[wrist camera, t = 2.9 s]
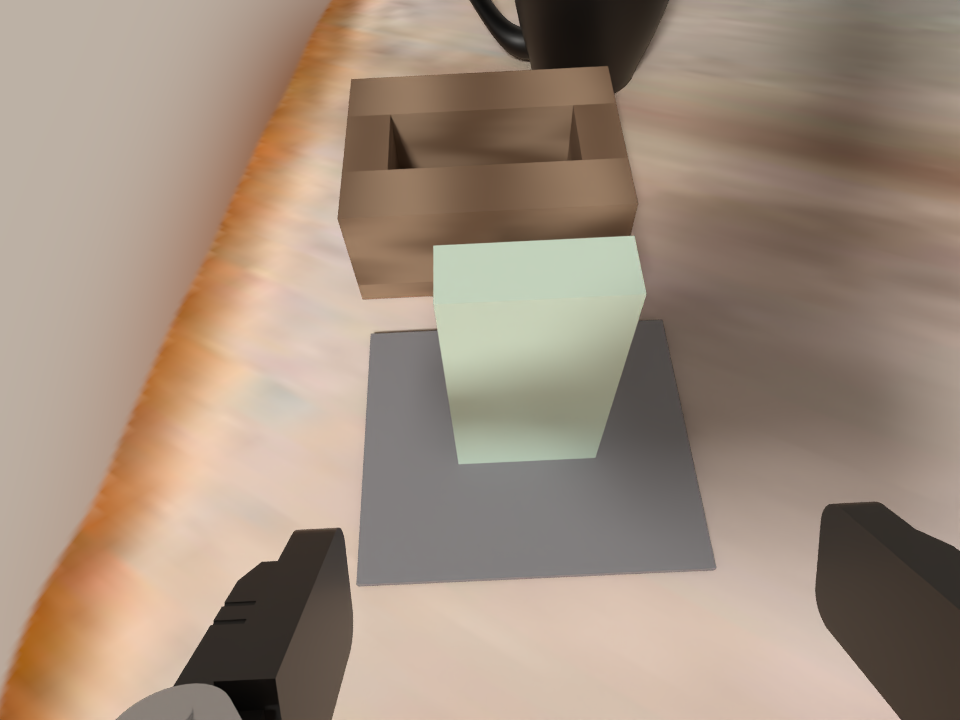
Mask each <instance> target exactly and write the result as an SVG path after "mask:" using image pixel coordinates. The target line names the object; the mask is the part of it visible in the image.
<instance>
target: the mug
mask: <svg viewBox="0 0 960 720" xmlns="http://www.w3.org/2000/svg"><path fill="white" fill-rule="evenodd" d="M668 1H669V0H515V4H516V9H517V13H518V18H519V23H520V27H519V26H517V25H515V24H513V23H511V22H510V21H508V20H507V19H506V18H505V17H504V16H503V15H502V14H501V13H500V12H499V11H498V9H497V8H496V7H495V5H494V4H493V2H492V1H491V0H470V2H471V3H472V5H473V7H474V8H475V10H476V11H477V13H478V15H479V16H480V18H481V19H482V21H483V22H484V24H485V25H486V27H487V28H488V30H489V31H490V33H491V34H492V35H493V37H494V38H495V39H496V40H497V41H498V43H499V44H500V45H501V46H502V47H503V48H504V49H505V50H506V51H507V52H509V53H510V54H512V55H513V56H515V57H517V58H521V59H527V60H530V63H531V69H532V70H542V69H561V68H581V67H600V66H608V69H609V73H610V78H611V82H612V87H613V92H614V93H616V92H618V91H619V90H621V89H622V88H623V87H624V86H625V85H626V84H627V83H628V82H629V81H630V79H631V77H632V75H633V72H634V70H635V68H636V66H637V65H638V63H639V61H640V59H641V57H642V55H643V54H644V52H645V50H646V48H647V46H648V44H649V42H650V41H651V39H652V37H653V35H654V33H655V31H656V29H657V27H658V24H659V22H660V20H661V18H662V16H663V14H664V11H665V9H666V6H667V4H668Z"/></svg>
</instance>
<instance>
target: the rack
mask: <svg viewBox="0 0 960 720" xmlns="http://www.w3.org/2000/svg"><path fill="white" fill-rule="evenodd" d="M637 206H638V201H637V197H636V192H635V188H634V183H633V179H632V174H631V169H630V165H629V160H628V156H627V151H626V147H625V142H624V137H623V133H622V128H621V124H620V119H619V114H618V110H617V105H616V101H615V96H614V92H613V87H612V82H611V78H610V73H609V69H608V66H600V67H581V68H561V69H542V70H522V71H503V72H483V73H464V74H444V75H425V76H405V77H386V78H366V79H351V88H350V98H349V108H348V118H347V128H346V139H345V149H344V159H343V169H342V179H341V189H340V199H339V209H338V222H339V225H340V228H341V231H342V235H343V238H344V241H345V244H346V247H347V251H348V254H349V257H350V260H351V263H352V267H353V270H354V273H355V276H356V279H357V283H358V286H359V289H360V292H361V295H362V299H381V298H401V297H422V296H433V246H436V245H457V244H477V243H497V242H518V241H538V240H558V239H578V238H599V237H619V236H630V234H631V230H632V226H633V222H634V218H635V214H636V210H637Z"/></svg>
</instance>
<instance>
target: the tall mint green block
mask: <svg viewBox="0 0 960 720" xmlns="http://www.w3.org/2000/svg"><path fill="white" fill-rule="evenodd" d="M645 298H646V289H645V284H644V280H643V275H642V270H641V265H640V260H639V255H638V251H637V246H636V241H635V236H619V237H599V238H578V239H558V240H538V241H518V242H497V243H477V244H457V245H436V246H433V305H434V311H435V317H436V324H437V330H438V337H439V343H440V349H441V356H442V362H443V368H444V375H445V381H446V387H447V394H448V400H449V406H450V413H451V419H452V425H453V432H454V438H455V445H456V451H457V457H458V464H475V463H497V462H518V461H540V460H561V459H582V458H595V457H596V454H597V451H598V448H599V445H600V441H601V438H602V435H603V432H604V429H605V425H606V422H607V419H608V416H609V413H610V409H611V406H612V403H613V400H614V397H615V393H616V390H617V387H618V384H619V381H620V377H621V374H622V371H623V368H624V365H625V361H626V358H627V355H628V352H629V349H630V345H631V342H632V339H633V336H634V333H635V329H636V326H637V323H638V320H639V317H640V313H641V310H642V307H643V304H644V301H645Z"/></svg>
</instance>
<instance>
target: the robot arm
mask: <svg viewBox="0 0 960 720" xmlns="http://www.w3.org/2000/svg"><path fill="white" fill-rule="evenodd" d="M815 592H816V601H817V606H818V609H819V613H820V615H821V618H822V620H823V622H824V624H825V626H826V627H827V629H828V630H829V631H830V633H831V634H832V635H833V636H834V637H835V639H836V640H837V641H838V642H839V644H840V645H841V646H842V647H843V649H844V650H845V651H846V652H847V654H848V655H849V656H850V657H851V658H852V660H853V661H854V662H855V663H856V665H857V666H858V667H859V668H860V670H861V671H862V672H863V673H864V674H865V676H866V677H867V678H868V679H869V681H870V682H871V683H872V684H873V686H874V687H875V688H876V689H877V690H878V692H879V693H880V694H881V695H882V697H883V698H884V699H885V700H886V702H887V703H888V704H889V705H890V706H891V708H892V709H893V710H894V711H895V713H896V714H897V715H898V716H899V718H900V719H901V720H960V551H959V550H958V549H956V548H955V547H954V546H952V545H949V544H947V543H945V542H943V541H941V540H938V539H936V538H934V537H932V536H929V535H927V534H925V533H923V532H921V531H918V530H916V529H914V528H913V527H912V526H911V525H909V524H908V523H907V522H905V521H904V520H903V519H901V518H900V517H899V516H897V515H896V514H895V513H893V512H892V511H891V510H889V509H888V508H887V507H886V506H884V505H883V504H881V503H879V502H860V503H840V504H829V505H827V506H826V507H825V509H824V511H823V513H822V517H821V526H820V538H819V550H818V562H817V574H816V587H815ZM352 635H353V610H352V601H351V592H350V583H349V574H348V565H347V557H346V548H345V540H344V535H343V532H342V530H341V528H325V529H306V530H295V531H294V532H293V534H292V535H291V537H290V539H289V541H288V543H287V545H286V547H285V549H284V550H283V552H282V554H281V556H280V558H279V560H278V561H270V562H261V563H260V564H259V565H257V566H256V567H255V568H253V569H252V570H251V571H250V572H248V573H247V574H246V575H245V576H243V577H242V578H241V579H240V580H238V581H237V583H236V585H235V586H234V588H233V590H232V591H231V593H230V595H229V596H228V598H227V599H226V601H225V606H224V607H222V608H221V609H220V611H219V612H218V614H217V616H216V617H215V619H214V624H213V625H211V626H210V627H209V629H208V630H207V632H206V634H205V635H204V637H203V639H202V640H201V642H200V644H199V645H198V647H197V648H196V650H195V652H194V653H193V655H192V657H191V658H190V660H189V662H188V663H187V665H186V666H185V668H184V670H183V671H182V673H181V675H180V676H179V678H178V680H177V681H176V683H175V684H174V686H173V687H171V688H167V689H164V690H161V691H159V692H156V693H154V694H152V695H150V696H148V697H146V698H144V699H142V700H141V701H139V702H137V703H136V704H134V705H133V706H131V707H130V708H129V709H127V710H126V711H125V712H123V713H122V714H121V715H120V716H119V717H118V718H117V719H116V720H332V716H333V713H334V709H335V705H336V702H337V698H338V694H339V691H340V687H341V683H342V679H343V676H344V672H345V668H346V665H347V661H348V657H349V654H350V650H351V644H352Z"/></svg>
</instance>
